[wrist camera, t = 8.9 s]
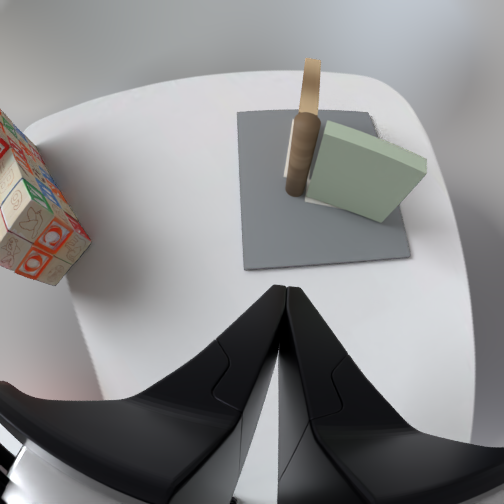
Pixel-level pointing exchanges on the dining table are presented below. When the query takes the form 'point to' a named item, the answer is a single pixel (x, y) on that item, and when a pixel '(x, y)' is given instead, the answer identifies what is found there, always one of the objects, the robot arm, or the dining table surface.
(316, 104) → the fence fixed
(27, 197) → the stack of blocks
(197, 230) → the dining table surface
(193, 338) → the dining table surface
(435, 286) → the dining table surface
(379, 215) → the fence hinged panel
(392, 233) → the board
